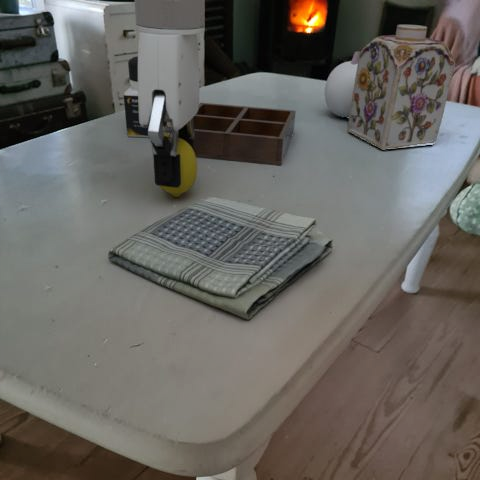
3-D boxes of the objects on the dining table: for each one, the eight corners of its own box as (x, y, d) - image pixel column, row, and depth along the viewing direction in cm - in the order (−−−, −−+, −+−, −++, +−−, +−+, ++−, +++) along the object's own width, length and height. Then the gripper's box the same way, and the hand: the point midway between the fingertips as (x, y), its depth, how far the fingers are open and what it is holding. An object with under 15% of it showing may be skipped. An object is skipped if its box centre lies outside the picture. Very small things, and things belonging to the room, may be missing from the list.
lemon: (204, 194, 70) (204, 133, 65) (183, 208, 66) (182, 145, 61) (169, 186, 71) (166, 126, 67) (146, 199, 67) (142, 137, 63)
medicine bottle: (126, 137, 89) (119, 60, 82) (135, 125, 95) (129, 52, 88) (168, 139, 89) (164, 62, 82) (174, 127, 95) (171, 54, 88)
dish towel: (102, 263, 54) (98, 235, 52) (207, 208, 66) (207, 184, 64) (251, 328, 45) (253, 297, 44) (340, 251, 58) (344, 225, 56)
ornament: (363, 127, 99) (374, 58, 92) (314, 118, 103) (321, 51, 96) (379, 116, 106) (391, 51, 99) (333, 108, 110) (341, 45, 103)
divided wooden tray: (172, 154, 82) (171, 128, 80) (200, 125, 96) (200, 102, 94) (281, 165, 80) (283, 138, 78) (293, 134, 94) (295, 110, 91)
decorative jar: (381, 152, 87) (404, 30, 77) (344, 132, 96) (361, 21, 85) (437, 146, 91) (467, 29, 80) (398, 128, 100) (420, 20, 89)
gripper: (161, 6, 64) (167, 153, 74) (106, 21, 50) (123, 198, 61) (221, 10, 63) (218, 158, 73) (181, 26, 49) (185, 206, 60)
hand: (175, 175), depth 67 cm, fingers closed on lemon, 5 cm apart
